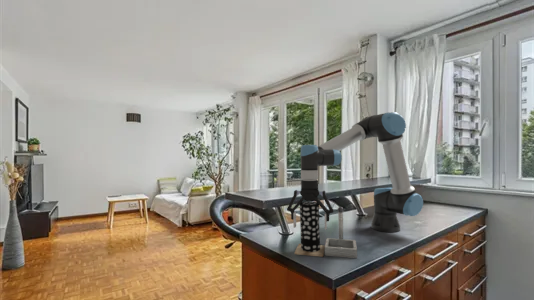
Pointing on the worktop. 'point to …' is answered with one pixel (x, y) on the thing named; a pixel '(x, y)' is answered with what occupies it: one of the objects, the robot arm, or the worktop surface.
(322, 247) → the coaster
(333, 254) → the holder
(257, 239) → the worktop surface
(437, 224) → the worktop surface
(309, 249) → the white-spotted black cylinder
